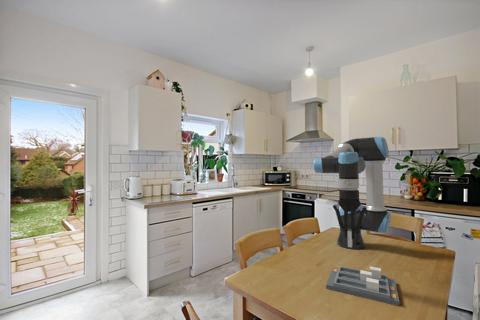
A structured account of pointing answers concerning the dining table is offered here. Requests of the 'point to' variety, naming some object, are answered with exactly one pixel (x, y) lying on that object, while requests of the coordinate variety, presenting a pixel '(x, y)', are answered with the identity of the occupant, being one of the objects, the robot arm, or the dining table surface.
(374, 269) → the tab
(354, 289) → the switch board
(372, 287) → the tab
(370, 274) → the tab
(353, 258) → the dining table surface
